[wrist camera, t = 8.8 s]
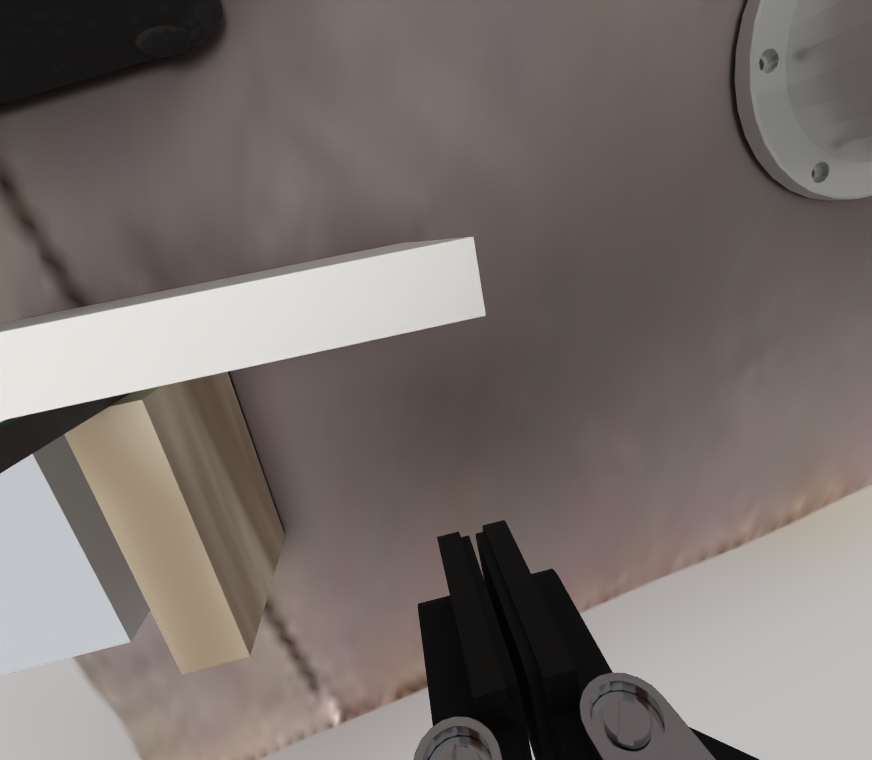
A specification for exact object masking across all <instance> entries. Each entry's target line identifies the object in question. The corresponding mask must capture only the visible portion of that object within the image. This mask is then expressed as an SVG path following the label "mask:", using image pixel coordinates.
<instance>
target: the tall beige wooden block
mask: <svg viewBox="0 0 872 760" xmlns="http://www.w3.org/2000/svg"><path fill="white" fill-rule="evenodd" d="M62 435H65V437H66V439H67V441H68V443H69V445H70V447H71V449H72V451H73V453H74V455H75V457H76V459H77V461H78V463H79V465H80V468H81V470H82V472H83V474H84V476H85V478H86V480H87V482H88V484H89V486H90V488H91V490H92V492H93V494H94V496H95V498H96V500H97V502H98V504H99V506H100V508H101V510H102V512H103V514H104V516H105V518H106V520H107V523H108V525H109V527H110V529H111V531H112V533H113V535H114V537H115V539H116V541H117V543H118V545H119V547H120V549H121V551H122V553H123V555H124V557H125V559H126V561H127V563H128V565H129V567H130V569H131V571H132V573H133V576H134V578H135V580H136V582H137V584H138V586H139V588H140V590H141V592H142V594H143V596H144V598H145V600H146V602H147V604H148V606H149V608H150V610H151V612H152V614H153V616H154V618H155V620H156V622H157V624H158V626H159V629H160V631H161V633H162V635H163V637H164V639H165V641H166V643H167V645H168V647H169V649H170V651H171V653H172V655H173V657H174V659H175V661H176V663H177V665H178V667H179V669H180V671H181V673H182V674H185V673H189V672H193V671H197V670H200V669H204V668H208V667H212V666H216V665H219V664H223V663H227V662H231V661H234V660H238V659H242V658H246V657H249V656H250V655H251V651H252V648H253V644H254V641H255V638H256V634H257V631H258V627H259V624H260V621H261V617H262V614H263V610H264V607H265V604H266V600H267V597H268V593H269V590H270V586H271V583H272V580H273V576H274V573H275V569H276V566H277V563H278V559H279V556H280V552H281V549H282V546H283V542H284V539H285V535H284V532H283V529H282V526H281V523H280V520H279V518H278V515H277V512H276V509H275V506H274V503H273V500H272V498H271V495H270V492H269V489H268V486H267V483H266V480H265V478H264V475H263V472H262V469H261V466H260V463H259V460H258V458H257V455H256V452H255V449H254V446H253V443H252V440H251V438H250V435H249V432H248V429H247V426H246V423H245V420H244V418H243V415H242V412H241V409H240V406H239V403H238V400H237V398H236V395H235V392H234V389H233V386H232V383H231V380H230V378H229V375H228V372H223V373H219V374H214V375H209V376H205V377H200V378H195V379H191V380H186V381H182V382H177V383H172V384H168V385H163V386H159V387H154V388H149V389H145V390H140V391H135V392H131V393H126V394H122V395H117V396H112V397H108V398H103V399H98V400H94V401H89V402H85V403H80V404H75V405H71V406H66V407H62V408H57V409H52V410H48V411H43V412H38V413H34V414H29V415H25V416H20V417H15V418H11V419H6V420H4V421H2V422H0V473H2V472H4V471H5V470H7V469H8V468H10V467H12V466H13V465H15V464H17V463H18V462H20V461H21V460H23V459H25V458H26V457H28V456H30V455H31V454H33V453H34V452H36V451H38V450H39V449H41V448H43V447H44V446H46V445H48V444H49V443H51V442H52V441H54V440H56V439H57V438H59V437H61V436H62Z"/></svg>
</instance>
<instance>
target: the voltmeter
mask: <svg viewBox="0 0 872 760" xmlns="http://www.w3.org/2000/svg"><path fill="white" fill-rule="evenodd" d="M220 18H221V2H220V0H0V104H3V103H6V102H10V101H13V100H16V99H20V98H23V97H27V96H30V95H33V94H37V93H40V92H44V91H47V90H50V89H54V88H57V87H60V86H64V85H67V84H71V83H74V82H77V81H81V80H84V79H88V78H91V77H94V76H98V75H101V74H105V73H108V72H111V71H115V70H118V69H122V68H125V67H128V66H132V65H135V64H138V63H142V62H145V61H149V60H152V59H155V58H159V57H169V56H175V55H177V54H179V53H181V52H183V51H184V50H186V49H189V48H193V47H195V46H198V45H201V44H202V43H204V42H205V41H207V40H208V39H209V38H210V37H211V36H212V35H213V34H214V33H215V32H216V30H217V27H218V25H219V22H220Z"/></svg>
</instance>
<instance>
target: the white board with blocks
mask: <svg viewBox="0 0 872 760" xmlns="http://www.w3.org/2000/svg"><path fill="white" fill-rule="evenodd" d="M482 316H486V314H485V308H484V301H483V295H482V289H481V282H480V276H479V270H478V263H477V257H476V250H475V244H474V238H473V237H463V238H452V239H441V240H430V241H419V242H409V243H399V244H394V245H389V246H384V247H379V248H374V249H369V250H364V251H359V252H354V253H349V254H344V255H339V256H334V257H329V258H324V259H319V260H314V261H309V262H304V263H299V264H294V265H289V266H284V267H279V268H274V269H269V270H264V271H259V272H254V273H249V274H244V275H239V276H234V277H229V278H224V279H219V280H214V281H209V282H204V283H199V284H194V285H189V286H184V287H179V288H174V289H169V290H164V291H159V292H154V293H149V294H144V295H139V296H134V297H129V298H124V299H119V300H114V301H109V302H105V303H100V304H95V305H90V306H85V307H80V308H75V309H70V310H65V311H60V312H55V313H50V314H45V315H40V316H35V317H30V318H25V319H20V320H15V321H10V322H5V323H1V324H0V422H2V421H4V420H6V419H11V418H15V417H20V416H25V415H29V414H34V413H38V412H43V411H48V410H52V409H57V408H62V407H66V406H71V405H75V404H80V403H85V402H89V401H94V400H98V399H103V398H108V397H112V396H117V395H122V394H126V393H131V392H135V391H140V390H145V389H149V388H154V387H159V386H163V385H168V384H172V383H177V382H182V381H186V380H191V379H195V378H200V377H205V376H209V375H214V374H219V373H223V372H228V371H232V370H237V369H242V368H246V367H251V366H256V365H260V364H265V363H269V362H274V361H279V360H283V359H288V358H292V357H297V356H302V355H306V354H311V353H316V352H320V351H325V350H329V349H334V348H339V347H343V346H348V345H352V344H357V343H362V342H366V341H371V340H376V339H380V338H385V337H389V336H394V335H399V334H403V333H408V332H413V331H417V330H422V329H426V328H431V327H436V326H440V325H445V324H449V323H454V322H459V321H463V320H468V319H473V318H477V317H482ZM149 611H150V608H149V606H148V604H147V602H146V600H145V598H144V596H143V594H142V592H141V590H140V588H139V586H138V584H137V582H136V580H135V578H134V576H133V573H132V571H131V569H130V567H129V565H128V563H127V561H126V559H125V557H124V555H123V553H122V551H121V549H120V547H119V545H118V543H117V541H116V539H115V537H114V535H113V533H112V531H111V529H110V527H109V525H108V523H107V520H106V518H105V516H104V514H103V512H102V510H101V508H100V506H99V504H98V502H97V500H96V498H95V496H94V494H93V492H92V490H91V488H90V486H89V484H88V482H87V480H86V478H85V476H84V474H83V472H82V470H81V468H80V465H79V463H78V461H77V459H76V457H75V455H74V453H73V451H72V449H71V447H70V445H69V443H68V441H67V439H66V437H65V435H62V436H61V437H59V438H57V439H56V440H54V441H52V442H51V443H49V444H48V445H46V446H44V447H43V448H41V449H39V450H38V451H36V452H34V453H33V454H31V455H30V456H28V457H26V458H25V459H23V460H21V461H20V462H18V463H17V464H15V465H13V466H12V467H10V468H8V469H7V470H5V471H4V472H2V473H0V675H4V674H8V673H12V672H16V671H20V670H23V669H27V668H31V667H35V666H39V665H43V664H47V663H51V662H55V661H58V660H62V659H66V658H70V657H74V656H78V655H82V654H86V653H89V652H93V651H97V650H101V649H105V648H109V647H113V646H117V645H120V644H124V643H128V642H131V641H132V639H133V637H134V636H135V634H136V632H137V631H138V629H139V627H140V626H141V624H142V622H143V621H144V619H145V617H146V616H147V614H148V613H149Z"/></svg>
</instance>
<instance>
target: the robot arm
mask: <svg viewBox="0 0 872 760" xmlns="http://www.w3.org/2000/svg"><path fill="white" fill-rule="evenodd" d="M735 90H736V99H737V109H738V113H739V117H740V120H741V124H742V127H743V131H744V134H745V137H746V139H747V141H748V143H749V145H750V147H751V149H752V151H753V153H754V155H755V157H756V159H757V160H758V161H759V162H760V164H761V165H762V166H763V167H764V169H765V170H766V171H767V172H768V173H769V175H770V176H771V177H772V178H774V179H775V180H776V181H778V182H779V183H780V184H782V185H783V186H784V187H786V188H787V189H788V190H790V191H793V192H795V193H797V194H800V195H802V196H805V197H807V198H812V199H819V200H826V201H834V200H848V199H859V198H864V197H869V196H872V0H748V2H747V4H746V7H745V10H744V13H743V17H742V22H741V27H740V32H739V37H738V42H737V47H736V62H735ZM482 527H483V532H481V533H477V534H476V540H477V546H478V551H479V556H480V561H481V566H482V571H483V576H482V573H481V570H480V567H479V564H478V561H477V558H476V555H475V552H474V549H473V546H472V543H471V540H470V537H469V536H465V537H460V534H459V532H455V533H451V534H447V535H443V536H439V537H437V539H438V543H439V548H440V552H441V557H442V561H443V566H444V570H445V575H446V579H447V584H448V588H449V592H450V596H446V597H442V598H438V599H435V600H431V601H427V602H423V603H419V604H418V613H419V620H420V628H421V636H422V644H423V652H424V659H425V667H426V675H427V683H428V691H429V698H430V705H431V714H432V722H433V727H432V728H431V729H430V730H429V731H428V732H427V733H426V735H425V736H424V737H423V738H422V740H421V741H420V744H419V746H418V748H417V750H416V752H415V755H414V760H532V755H531V750H530V744H531V747H532V750H533V753H534V757H535V760H759V759H757V758H755V757H753V756H750V755H748V754H746V753H744V752H742V751H740V750H738V749H735V748H733V747H731V746H729V745H727V744H724V743H722V742H720V741H718V740H716V739H714V738H712V737H709V736H707V735H705V734H703V733H701V732H699V731H696V730H694V729H692V728H690V727H688V726H687V725H686V723H685V722H684V721H683V720H682V718H681V717H680V716H679V715H678V714H677V712H676V711H675V710H674V709H673V708H672V706H671V705H670V704H669V703H668V702H667V700H666V699H665V698H664V697H663V696H662V695H661V694H660V693H659V692H658V691H657V690H656V689H655V688H654V687H653V686H652V685H650V684H649V683H647V682H645V681H644V680H642V679H640V678H638V677H635V676H632V675H628V674H625V673H613V672H612V671H611V669H610V667H609V665H608V664H607V662H606V660H605V658H604V656H603V655H602V653H601V651H600V649H599V648H598V646H597V644H596V642H595V640H594V639H593V637H592V635H591V633H590V632H589V630H588V628H587V626H586V625H585V623H584V621H583V619H582V618H581V616H580V614H579V612H578V610H577V609H576V607H575V605H574V603H573V601H572V600H571V598H570V596H569V594H568V593H567V591H566V589H565V587H564V586H563V584H562V582H561V580H560V578H559V577H558V575H557V574H556V572H555V571H554V570H553V569H549V570H545V571H541V572H538V573H534V574H531V573H530V571H529V569H528V567H527V565H526V563H525V561H524V559H523V556H522V554H521V552H520V550H519V548H518V546H517V544H516V542H515V540H514V538H513V536H512V534H511V532H510V530H509V528H508V526H507V523H506V522H505V521H504V520H503V521H499V522H495V523H491V524H487V525H483V526H482ZM483 577H484V579H483ZM528 738H529V739H528ZM529 741H530V744H529Z"/></svg>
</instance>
